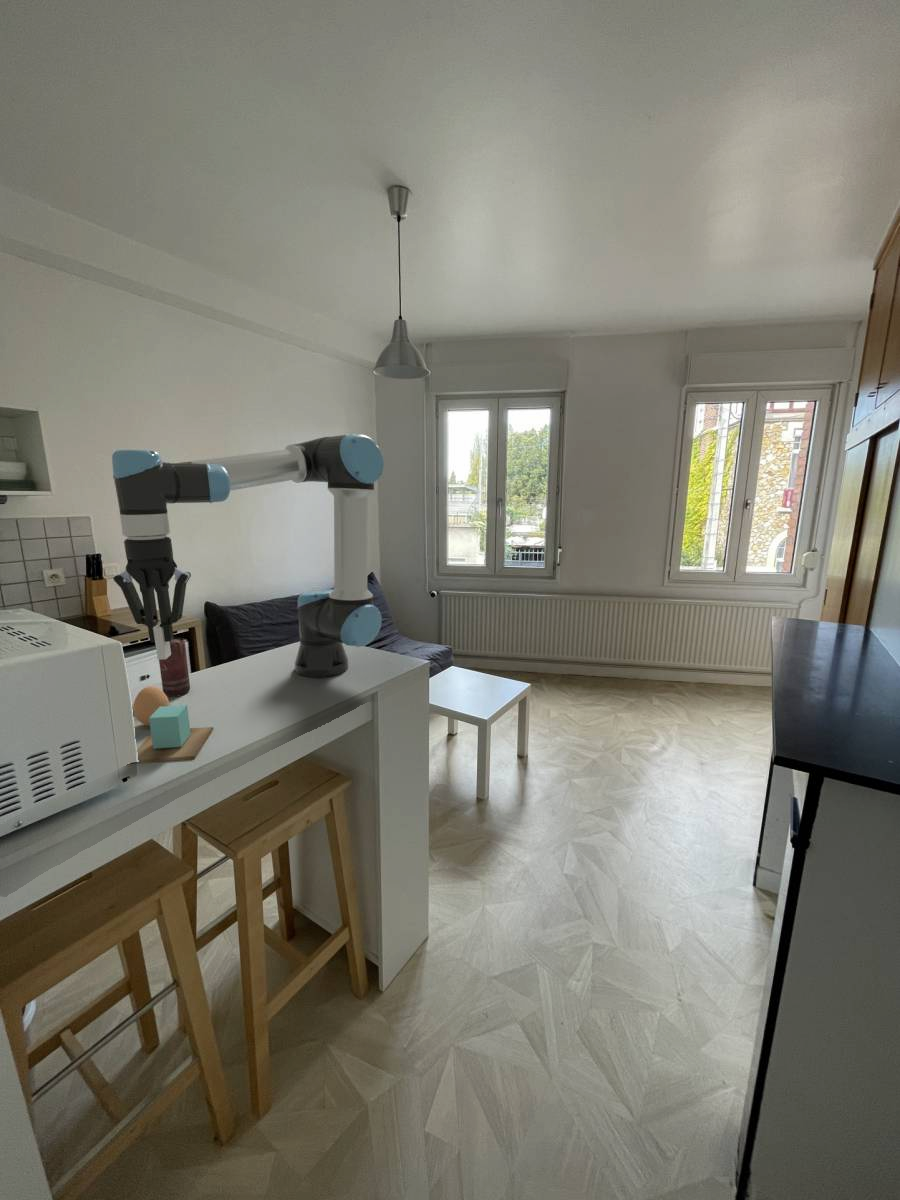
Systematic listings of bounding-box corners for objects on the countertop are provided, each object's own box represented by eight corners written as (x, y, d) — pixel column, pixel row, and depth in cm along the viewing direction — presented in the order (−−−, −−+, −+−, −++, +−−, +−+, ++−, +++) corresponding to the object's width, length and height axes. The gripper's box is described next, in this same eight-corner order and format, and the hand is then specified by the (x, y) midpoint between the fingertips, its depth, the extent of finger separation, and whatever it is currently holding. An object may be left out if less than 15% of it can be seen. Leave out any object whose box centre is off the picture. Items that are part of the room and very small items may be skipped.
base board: (213, 729, 107) (213, 726, 107) (194, 758, 96) (194, 756, 96) (154, 733, 105) (153, 730, 105) (127, 763, 94) (127, 760, 94)
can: (179, 698, 123) (173, 645, 119) (157, 696, 124) (150, 643, 121) (196, 688, 128) (191, 637, 125) (175, 686, 130) (169, 635, 126)
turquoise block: (190, 734, 103) (187, 705, 102) (181, 746, 98) (177, 716, 97) (163, 735, 102) (159, 706, 101) (153, 748, 97) (149, 718, 96)
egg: (152, 716, 113) (147, 679, 111) (178, 719, 112) (173, 682, 110) (128, 730, 107) (122, 691, 105) (155, 733, 105) (150, 694, 103)
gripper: (191, 534, 96) (205, 649, 101) (119, 535, 94) (137, 652, 99) (177, 538, 88) (193, 661, 94) (98, 539, 86) (119, 665, 92)
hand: (164, 656), depth 97 cm, fingers closed
